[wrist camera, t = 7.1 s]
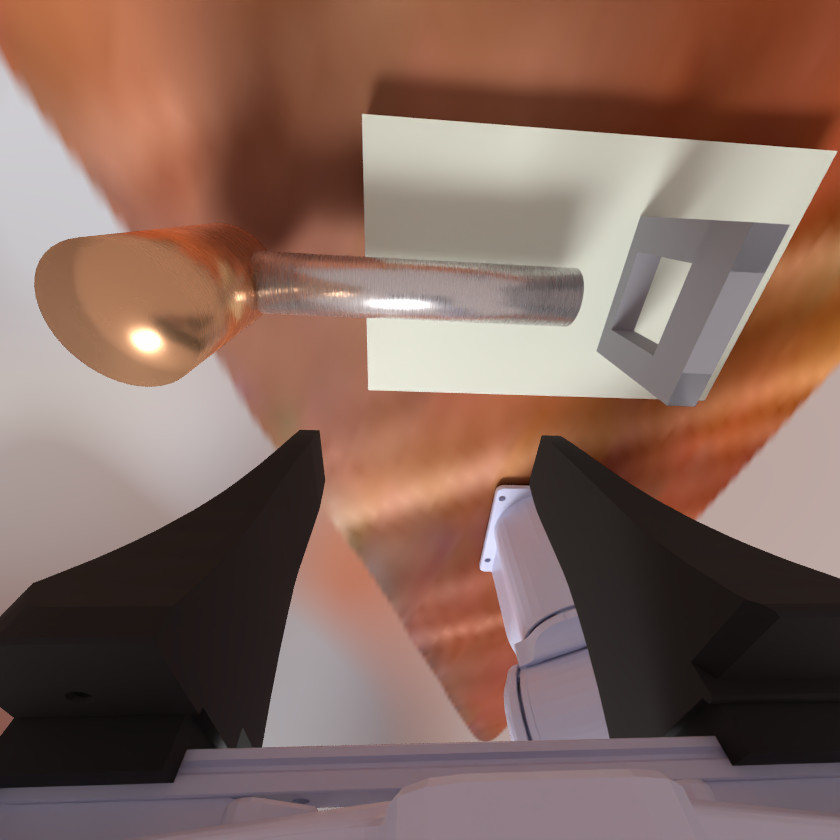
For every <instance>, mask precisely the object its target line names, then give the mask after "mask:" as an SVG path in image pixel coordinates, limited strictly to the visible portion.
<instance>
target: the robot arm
mask: <svg viewBox="0 0 840 840" xmlns="http://www.w3.org/2000/svg"><path fill="white" fill-rule="evenodd" d="M324 483H325V475H324V466H323V458H322V449H321V440H320V431H319V430H299V431H298V432H297V433H296V434H294V435H293V436H292V437H291V438H290V439H289V440H288V441H286V442H285V443H284V444H283V445H282V446H281V447H280V448H278V449H277V450H276V451H275V452H274V453H273V454H272V455H270V456H269V457H268V458H267V459H266V460H264V461H263V462H262V463H261V464H260V465H258V466H257V467H256V468H254V469H253V470H252V471H250V472H249V473H248V474H247V475H245V476H244V477H243V478H241V479H240V480H239V481H237V482H236V483H235V484H233V485H232V486H231V487H229V488H228V489H226V490H225V491H224V492H222V493H220V494H219V495H217V496H216V497H214V498H213V499H211V500H209V501H208V502H206V503H205V504H203V505H201V506H200V507H198V508H196V509H195V510H194V511H191V512H190V513H188V514H186V515H184V516H182V517H180V518H178V519H177V520H175V521H173V522H171V523H169V524H168V525H166V526H164V527H162V528H160V529H158V530H156V531H154V532H152V533H150V534H148V535H146V536H144V537H142V538H140V539H138V540H136V541H134V542H132V543H130V544H127V545H125V546H123V547H121V548H119V549H117V550H114V551H112V552H110V553H107V554H105V555H103V556H100V557H98V558H96V559H93V560H91V561H88V562H86V563H83V564H81V565H79V566H76V567H73V568H71V569H68V570H66V571H63V572H61V573H58V574H56V575H53V576H51V577H48V578H46V579H43V580H40V581H38V582H35V583H33V584H32V585H31V586H30V587H29V588H28V589H27V590H26V591H25V592H24V593H23V594H22V595H21V596H20V597H19V598H18V599H17V600H16V601H15V602H14V603H13V604H12V605H11V606H10V607H9V608H8V609H7V610H6V611H5V612H4V613H3V614H2V615H1V616H0V707H1V708H2V709H3V710H5V711H6V712H7V713H9V714H10V715H11V716H12V717H14V719H13V720H12V722H11V723H10V724H9V726H8V727H7V728H6V730H5V731H4V732H3V734H2V735H1V736H0V840H840V578H837V577H834V576H831V575H828V574H825V573H823V572H820V571H817V570H814V569H811V568H808V567H805V566H802V565H800V564H797V563H794V562H791V561H788V560H786V559H783V558H780V557H778V556H775V555H773V554H770V553H768V552H765V551H763V550H760V549H758V548H755V547H753V546H750V545H748V544H746V543H743V542H741V541H739V540H736V539H734V538H732V537H729V536H727V535H725V534H723V533H721V532H719V531H716V530H714V529H712V528H710V527H708V526H706V525H703V524H701V523H699V522H697V521H695V520H693V519H691V518H689V517H687V516H685V515H683V514H682V513H680V512H678V511H676V510H674V509H672V508H671V507H669V506H667V505H665V504H663V503H661V502H660V501H658V500H656V499H654V498H653V497H651V496H649V495H648V494H646V493H644V492H643V491H641V490H640V489H638V488H636V487H635V486H633V485H632V484H630V483H628V482H627V481H625V480H624V479H622V478H621V477H619V476H618V475H616V474H615V473H613V472H612V471H611V470H609V469H608V468H606V467H605V466H603V465H602V464H600V463H599V462H598V461H596V460H595V459H593V458H592V457H591V456H589V455H588V454H586V453H585V452H584V451H582V450H581V449H579V448H578V447H576V446H575V445H574V444H572V443H571V442H569V441H568V440H566V439H564V438H563V437H561V436H542V437H541V440H540V444H539V448H538V452H537V455H536V459H535V463H534V466H533V470H532V474H531V477H530V481H529V485H501V486H498V487H497V488H496V491H495V495H494V500H493V504H492V509H491V514H490V518H489V523H488V527H487V532H486V536H485V541H484V545H483V550H482V555H481V559H480V564H479V566H480V569H481V570H482V571H492V575H493V579H494V583H495V587H496V591H497V596H498V600H499V604H500V608H501V613H502V617H503V621H504V625H505V629H506V634H507V637H508V640H509V643H510V645H511V647H512V649H513V650H514V652H515V653H516V655H517V660H518V664H517V665H513V666H512V667H511V668H510V669H509V671H508V674H507V681H506V684H505V689H504V705H505V713H506V719H507V724H508V729H509V733H510V737H511V741H499V742H461V743H460V742H459V743H422V744H421V743H420V744H384V745H383V744H381V745H342V746H305V747H304V746H303V747H264V748H262V744H263V738H264V733H265V727H266V721H267V716H268V710H269V704H270V699H271V693H272V688H273V683H274V678H275V673H276V667H277V662H278V657H279V652H280V647H281V643H282V638H283V633H284V629H285V624H286V619H287V615H288V610H289V606H290V602H291V598H292V593H293V589H294V585H295V581H296V578H297V574H298V571H299V568H300V565H301V562H302V559H303V556H304V553H305V550H306V547H307V544H308V541H309V538H310V535H311V533H312V530H313V526H314V524H315V520H316V518H317V514H318V512H319V508H320V504H321V499H322V494H323V489H324ZM501 496H503V497H501ZM322 807H323V808H324V807H344V808H338V809H331V810H324V811H318V810H317V808H322Z"/></svg>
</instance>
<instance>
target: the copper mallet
mask: <svg viewBox="0 0 840 840" xmlns="http://www.w3.org/2000/svg"><path fill="white" fill-rule="evenodd" d="M34 284H35V285H34V287H35V294H36V299H37V302H38V306H39V309H40V311H41V313H42V316H43V318H44V320H45V321H46V323H47V325H48V326H49V328H50V329H51V331H52V332H53V334H54V335H55V336H56V338H57V339H58V340H59V341H60V342H61V344H62V345H63V346H64V347H65V348H66V349H67V350H68V351H69V352H70V353H72V354H73V355H74V356H75V357H76V358H78V359H79V360H80V361H81V362H83V363H84V364H86V365H87V366H88V367H90V368H92V369H93V370H95V371H97V372H98V373H100V374H103V375H105V376H107V377H109V378H111V379H114V380H117V381H119V382H123V383H126V384H130V385H136V386H145V387H148V386H149V387H150V386H151V387H152V386H162V385H166V384H170V383H173V382H175V381H177V380H179V379H180V378H182V377H183V376H185V375H186V374H187V373H189V372H190V371H191V370H192V369H194V368H195V367H196V366H198V365H199V364H200V363H201V362H203V361H204V360H205V359H206V358H208V357H209V356H210V355H212V354H213V353H214V352H215V351H217V350H218V349H219V348H220V347H222V346H223V345H224V344H226V343H227V342H228V341H229V340H231V339H232V338H233V337H235V336H236V335H237V334H238V333H240V332H241V331H242V330H243V329H245V328H246V327H247V326H249V325H250V324H251V323H252V322H254V321H255V320H256V319H257V318H259V317H260V316H261V315H263V314H287V315H310V316H332V317H355V318H378V319H400V320H423V321H446V322H468V323H491V324H514V325H536V326H559V327H567V326H569V325H571V324H572V323H573V321H574V320H575V319H576V317H577V315H578V313H579V310H580V307H581V304H582V300H583V294H584V280H583V275H582V273H581V271H580V270H579V269H578V268H566V267H548V266H530V265H511V264H493V263H475V262H456V261H438V260H419V259H401V258H383V257H364V256H346V255H327V254H309V253H291V252H272V251H267V250H266V249H265V247H264V246H263V245H262V244H261V243H260V242H259V241H258V240H257V239H256V238H255V237H254V236H252V235H251V234H250V233H248V232H247V231H245V230H243V229H241V228H239V227H236V226H234V225H230V224H224V223H211V224H202V225H192V226H183V227H173V228H164V229H154V230H145V231H135V232H126V233H117V234H107V235H98V236H88V237H78V238H73V239H68V240H65V241H62V242H59V243H58V244H56V245H54V246H52V247H51V248H50V249H49V250H48V251H47V252H46V253H45V254H44V255H43V257H42V258H41V259H40V261H39V264H38V266H37V268H36V273H35V283H34Z"/></svg>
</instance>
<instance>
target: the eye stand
mask: <svg viewBox="0 0 840 840" xmlns="http://www.w3.org/2000/svg"><path fill="white" fill-rule="evenodd" d="M362 137H363V180H364V223H365V257H383V258H401V259H419V260H438V261H456V262H475V263H493V264H511V265H530V266H548V267H566V268H578V269H579V270H580V271H581V273H582V275H583V280H584V294H583V300H582V304H581V307H580V310H579V313H578V315H577V317H576V319H575V320H574V321H573V323H572V324H571V325H569V326H567V327H559V326H536V325H514V324H491V323H468V322H446V321H423V320H400V319H378V318H367V351H368V390H385V391H417V392H448V393H479V394H510V395H542V396H573V397H604V398H635V399H659V400H660V401H661V402H663V403H664V404H665V405H667V406H696V404H697V402H698V401H705V399H706V397H707V395H708V393H709V391H710V390H711V388H712V386H713V384H714V382H715V380H716V378H717V376H718V374H719V373H720V371H721V369H722V367H723V365H724V363H725V361H726V359H727V358H728V356H729V354H730V352H731V350H732V348H733V346H734V344H735V343H736V341H737V339H738V337H739V335H740V333H741V331H742V329H743V328H744V326H745V324H746V322H747V320H748V318H749V316H750V314H751V313H752V311H753V309H754V307H755V305H756V303H757V301H758V299H759V298H760V296H761V294H762V292H763V290H764V288H765V286H766V284H767V283H768V281H769V279H770V277H771V275H772V273H773V271H774V269H775V268H776V266H777V264H778V262H779V260H780V258H781V256H782V254H783V252H784V251H785V249H786V247H787V245H788V243H789V241H790V239H791V237H792V236H793V234H794V232H795V230H796V228H797V226H798V224H799V222H800V221H801V219H802V217H803V215H804V213H805V211H806V209H807V207H808V206H809V204H810V202H811V200H812V198H813V196H814V194H815V192H816V191H817V189H818V187H819V185H820V183H821V181H822V179H823V177H824V176H825V174H826V172H827V170H828V168H829V166H830V164H831V162H832V161H833V159H834V157H835V155H836V153H837V151H830V150H817V149H804V148H792V147H779V146H766V145H753V144H741V143H728V142H715V141H702V140H690V139H677V138H664V137H651V136H638V135H626V134H613V133H600V132H587V131H575V130H562V129H549V128H536V127H524V126H511V125H498V124H485V123H472V122H460V121H447V120H434V119H421V118H409V117H396V116H383V115H370V114H362Z"/></svg>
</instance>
